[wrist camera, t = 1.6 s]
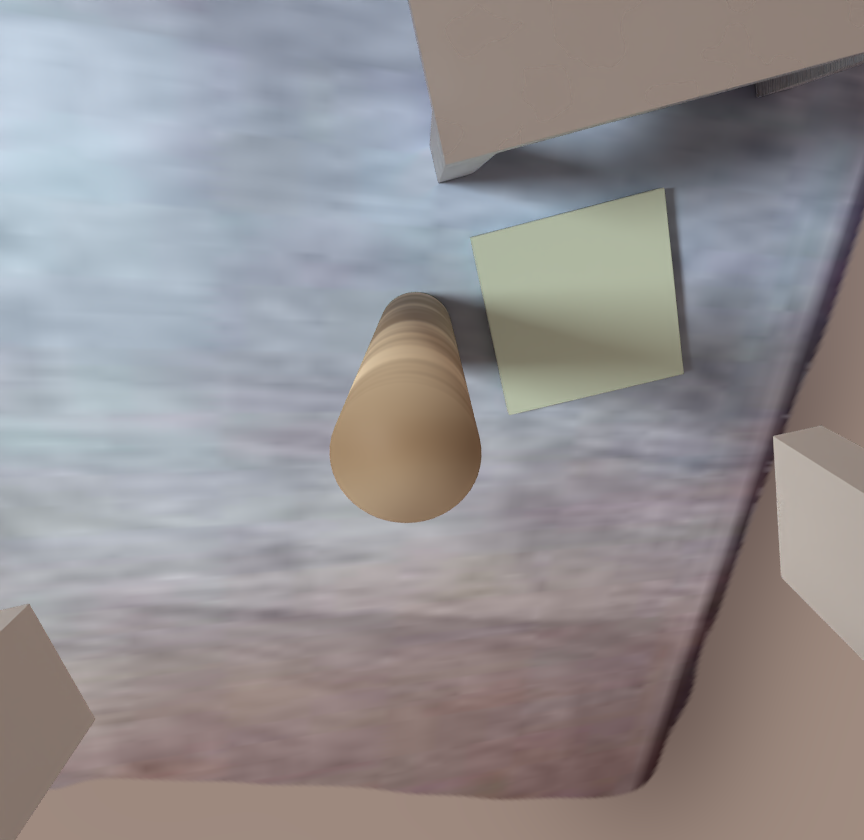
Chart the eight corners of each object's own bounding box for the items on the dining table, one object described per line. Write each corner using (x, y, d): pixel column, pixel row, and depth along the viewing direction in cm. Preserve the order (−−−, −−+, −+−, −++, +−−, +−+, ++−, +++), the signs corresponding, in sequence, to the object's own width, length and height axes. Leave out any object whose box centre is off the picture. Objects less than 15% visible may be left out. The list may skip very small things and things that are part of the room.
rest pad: (469, 237, 31) (471, 237, 30) (658, 188, 30) (664, 187, 29) (507, 410, 34) (509, 415, 33) (677, 370, 33) (683, 373, 32)
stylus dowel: (371, 302, 32) (309, 403, 15) (442, 284, 31) (462, 366, 14) (390, 370, 33) (354, 536, 16) (458, 354, 33) (495, 505, 16)
